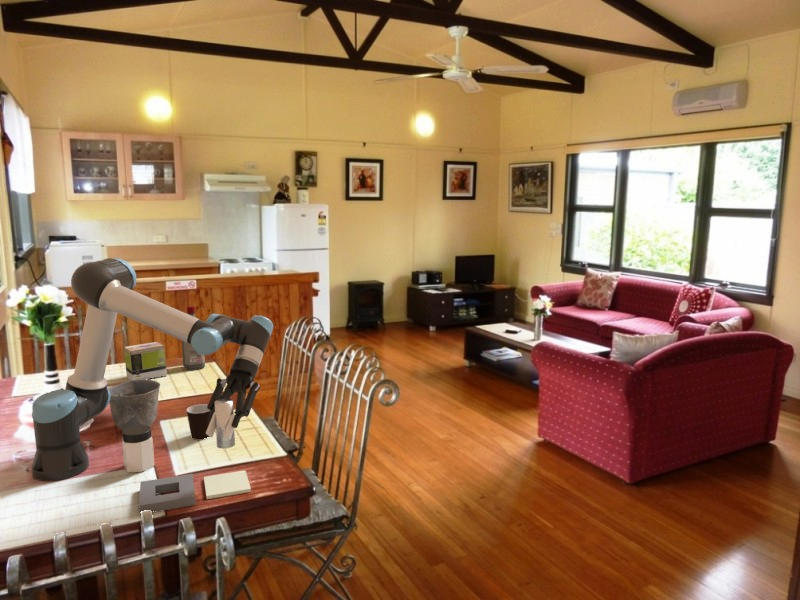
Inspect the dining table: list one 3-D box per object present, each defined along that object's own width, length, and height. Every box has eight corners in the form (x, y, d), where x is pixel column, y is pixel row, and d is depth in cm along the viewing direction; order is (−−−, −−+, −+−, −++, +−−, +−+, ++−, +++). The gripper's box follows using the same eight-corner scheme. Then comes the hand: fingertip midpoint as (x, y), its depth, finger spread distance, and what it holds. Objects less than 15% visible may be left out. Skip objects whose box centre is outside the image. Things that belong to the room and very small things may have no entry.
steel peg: (217, 449, 166) (215, 405, 163) (216, 442, 170) (213, 399, 168) (235, 447, 168) (234, 403, 165) (234, 440, 172) (232, 397, 170)
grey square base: (139, 514, 156) (138, 505, 155) (141, 489, 168) (140, 481, 168) (195, 504, 161) (195, 496, 160) (193, 481, 173) (192, 473, 173)
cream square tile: (206, 499, 164) (206, 496, 163) (203, 479, 175) (203, 476, 174) (251, 491, 168) (250, 488, 168) (245, 473, 179) (245, 470, 179)
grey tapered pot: (108, 422, 217) (105, 383, 214) (160, 414, 225) (157, 377, 222) (110, 440, 201) (106, 398, 199) (165, 431, 209) (162, 391, 207)
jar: (158, 460, 187) (155, 424, 185) (150, 472, 179) (147, 434, 177) (128, 461, 186) (126, 425, 184) (119, 473, 178) (116, 435, 176)
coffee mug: (206, 442, 201) (204, 414, 199) (183, 439, 203) (181, 412, 201) (222, 429, 212) (221, 402, 210) (200, 426, 214) (199, 400, 212)
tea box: (159, 371, 279) (157, 340, 276) (167, 376, 271) (165, 345, 269) (125, 377, 269) (123, 345, 267) (132, 382, 262) (130, 350, 259)
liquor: (206, 368, 284) (202, 307, 278) (186, 371, 279) (182, 309, 274) (201, 363, 291) (198, 304, 286) (182, 366, 287) (179, 305, 282)
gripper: (278, 372, 178) (251, 445, 165) (225, 366, 183) (196, 437, 170) (268, 359, 172) (240, 435, 159) (214, 354, 177) (183, 427, 164)
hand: (217, 436), depth 165 cm, fingers closed on steel peg, 5 cm apart
